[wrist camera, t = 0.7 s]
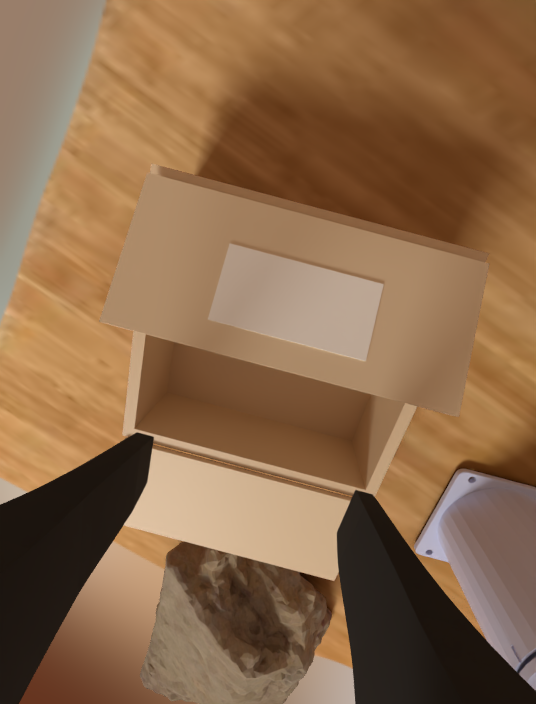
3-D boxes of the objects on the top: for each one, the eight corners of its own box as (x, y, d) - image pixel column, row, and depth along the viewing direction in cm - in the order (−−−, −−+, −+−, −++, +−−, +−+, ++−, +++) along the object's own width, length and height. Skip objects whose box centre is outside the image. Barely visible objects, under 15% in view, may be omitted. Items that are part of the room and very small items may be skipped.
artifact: (356, 543, 26) (183, 493, 26) (378, 647, 18) (138, 575, 19) (298, 691, 30) (152, 646, 31) (297, 821, 23) (106, 758, 24)
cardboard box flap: (483, 266, 12) (490, 263, 12) (453, 415, 12) (459, 416, 11) (149, 177, 12) (146, 171, 12) (103, 322, 12) (98, 321, 11)
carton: (435, 251, 17) (493, 253, 12) (328, 510, 24) (337, 581, 19) (190, 186, 17) (147, 161, 12) (150, 463, 24) (111, 522, 19)
